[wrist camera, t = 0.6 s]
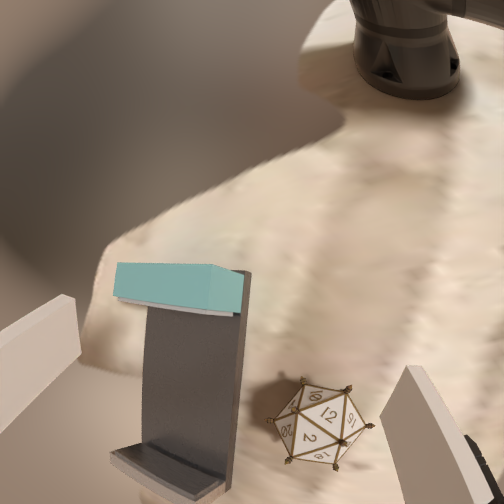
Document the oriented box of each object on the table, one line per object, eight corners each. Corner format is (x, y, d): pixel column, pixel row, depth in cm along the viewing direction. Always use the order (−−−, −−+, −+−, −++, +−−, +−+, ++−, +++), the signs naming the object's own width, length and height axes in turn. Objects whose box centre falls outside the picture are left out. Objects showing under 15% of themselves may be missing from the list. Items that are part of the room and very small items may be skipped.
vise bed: (251, 272, 32) (213, 259, 26) (230, 488, 27) (195, 513, 20) (160, 269, 39) (118, 258, 32) (149, 451, 33) (110, 463, 27)
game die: (332, 418, 28) (276, 482, 21) (296, 362, 28) (227, 424, 22) (400, 414, 21) (348, 500, 14) (366, 347, 22) (296, 435, 15)
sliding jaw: (244, 275, 31) (212, 264, 26) (240, 317, 30) (206, 314, 25) (151, 271, 37) (117, 262, 32) (147, 304, 36) (112, 299, 31)
